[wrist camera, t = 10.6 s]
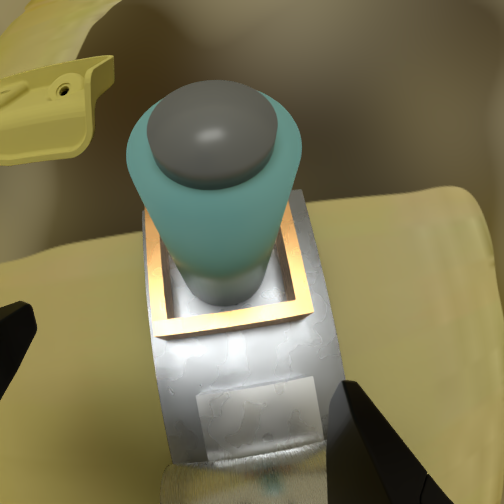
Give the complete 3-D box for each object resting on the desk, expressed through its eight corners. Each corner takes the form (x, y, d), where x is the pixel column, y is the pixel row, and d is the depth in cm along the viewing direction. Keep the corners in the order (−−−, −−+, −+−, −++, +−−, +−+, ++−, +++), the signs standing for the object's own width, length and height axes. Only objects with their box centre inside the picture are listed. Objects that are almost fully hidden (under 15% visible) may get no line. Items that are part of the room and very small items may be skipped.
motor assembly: (357, 507, 16) (412, 560, 8) (198, 536, 15) (181, 608, 7) (297, 199, 23) (324, 121, 15) (147, 220, 22) (109, 147, 14)
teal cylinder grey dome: (272, 299, 19) (330, 188, 8) (186, 311, 19) (114, 217, 7) (258, 220, 21) (282, 61, 9) (178, 231, 20) (126, 79, 9)
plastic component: (119, 53, 26) (85, 74, 19) (122, 115, 31) (95, 156, 24) (-21, 85, 23) (-70, 118, 16) (-11, 136, 29) (-53, 177, 21)
